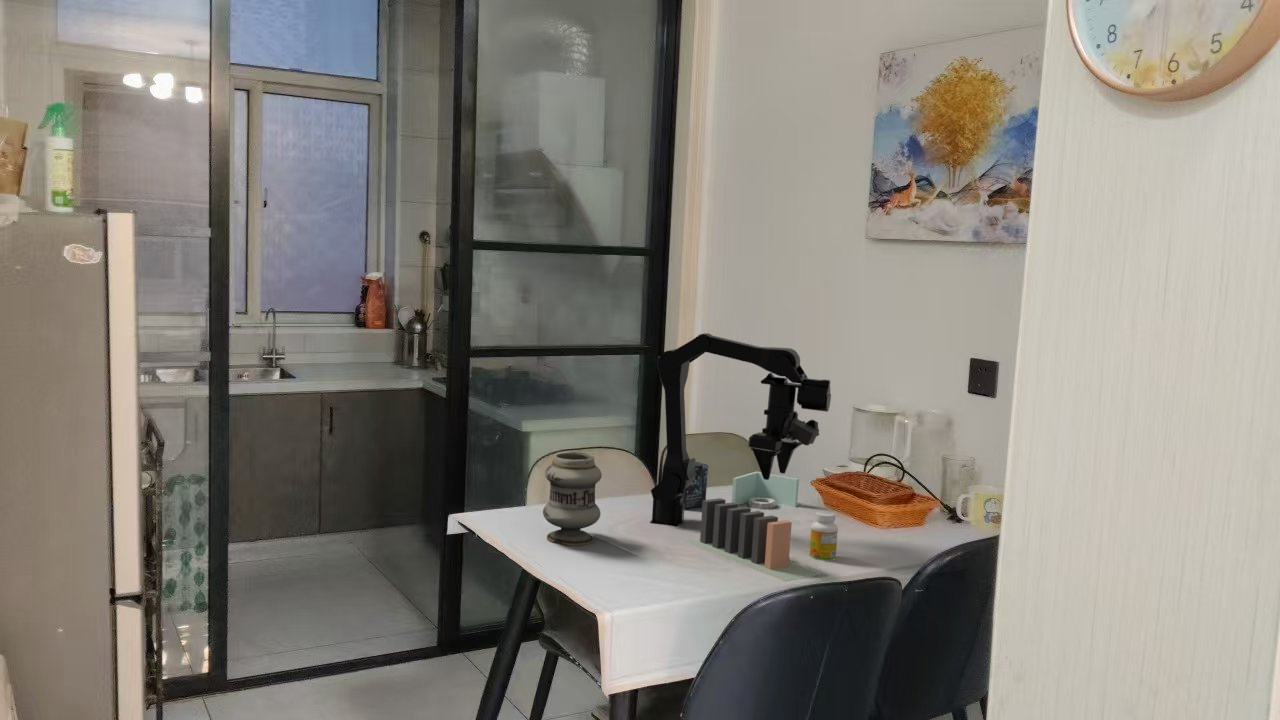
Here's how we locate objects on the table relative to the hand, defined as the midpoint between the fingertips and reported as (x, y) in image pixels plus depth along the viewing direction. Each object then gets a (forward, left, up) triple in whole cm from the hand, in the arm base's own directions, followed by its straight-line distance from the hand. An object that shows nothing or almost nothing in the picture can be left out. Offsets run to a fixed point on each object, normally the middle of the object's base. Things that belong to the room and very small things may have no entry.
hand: (774, 476), depth 231 cm
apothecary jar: (-40, -20, -14) cm, 47 cm away
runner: (-2, -19, -14) cm, 23 cm away
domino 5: (+1, -21, -13) cm, 25 cm away
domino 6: (+4, -24, -13) cm, 27 cm away
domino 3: (-5, -16, -13) cm, 21 cm away
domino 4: (-2, -18, -13) cm, 23 cm away
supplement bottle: (+12, -12, -14) cm, 22 cm away
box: (-23, +21, -14) cm, 34 cm away
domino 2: (-8, -13, -13) cm, 20 cm away
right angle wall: (-5, +30, -15) cm, 34 cm away
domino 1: (-11, -11, -13) cm, 20 cm away
